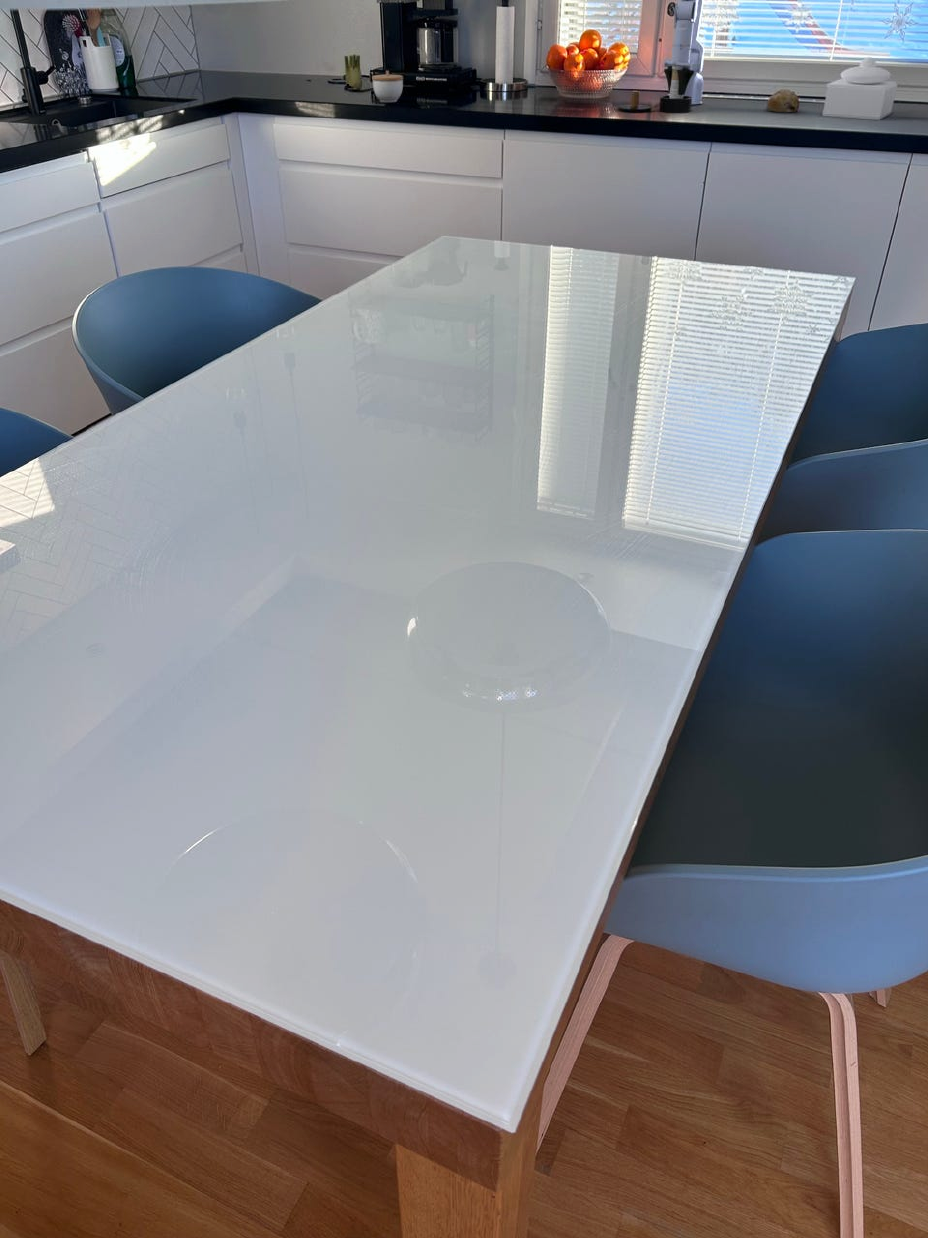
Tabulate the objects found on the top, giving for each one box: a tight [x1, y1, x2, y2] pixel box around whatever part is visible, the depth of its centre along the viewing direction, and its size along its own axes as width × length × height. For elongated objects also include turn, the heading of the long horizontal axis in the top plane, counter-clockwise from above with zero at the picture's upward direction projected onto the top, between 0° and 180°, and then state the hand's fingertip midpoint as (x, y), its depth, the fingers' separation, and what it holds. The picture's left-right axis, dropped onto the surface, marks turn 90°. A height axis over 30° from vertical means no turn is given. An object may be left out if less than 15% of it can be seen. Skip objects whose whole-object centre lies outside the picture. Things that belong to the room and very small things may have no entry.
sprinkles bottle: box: [669, 65, 684, 99], centre depth 309 cm, size 5×5×13 cm
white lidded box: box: [821, 56, 899, 121], centre depth 300 cm, size 18×18×16 cm
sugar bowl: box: [371, 70, 404, 103], centre depth 333 cm, size 11×11×9 cm
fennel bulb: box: [344, 53, 363, 91], centre depth 358 cm, size 6×5×12 cm
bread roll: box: [765, 89, 800, 114], centre depth 310 cm, size 10×10×8 cm
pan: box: [658, 94, 692, 114], centre depth 312 cm, size 10×10×4 cm
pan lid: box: [617, 90, 652, 113], centre depth 312 cm, size 11×11×6 cm
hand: (676, 93), depth 310 cm, fingers closed on sprinkles bottle, 4 cm apart
